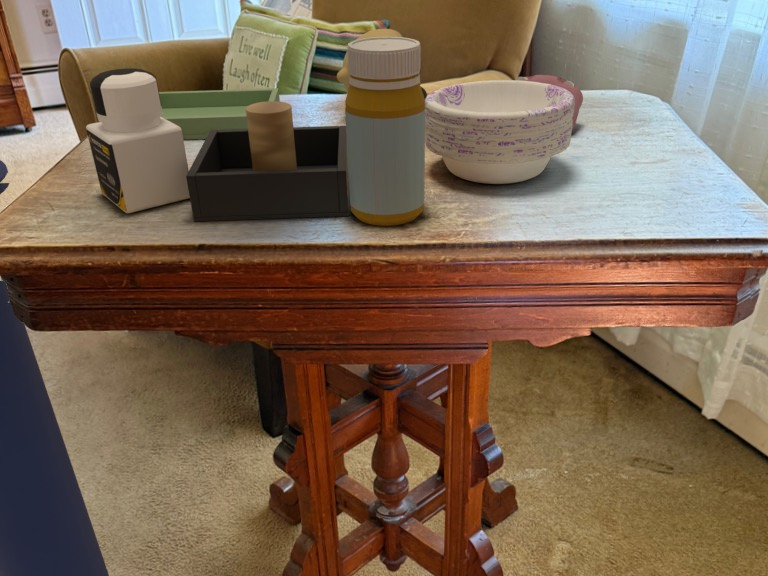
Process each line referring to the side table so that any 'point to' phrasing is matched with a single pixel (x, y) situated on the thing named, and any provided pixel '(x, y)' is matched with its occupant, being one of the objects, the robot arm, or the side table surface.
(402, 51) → the bottle
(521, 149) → the paper bowls
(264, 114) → the brown wooden cylinder
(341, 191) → the bin
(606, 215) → the side table surface
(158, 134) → the medicine bottle
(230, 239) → the side table surface
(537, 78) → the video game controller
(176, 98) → the tray
